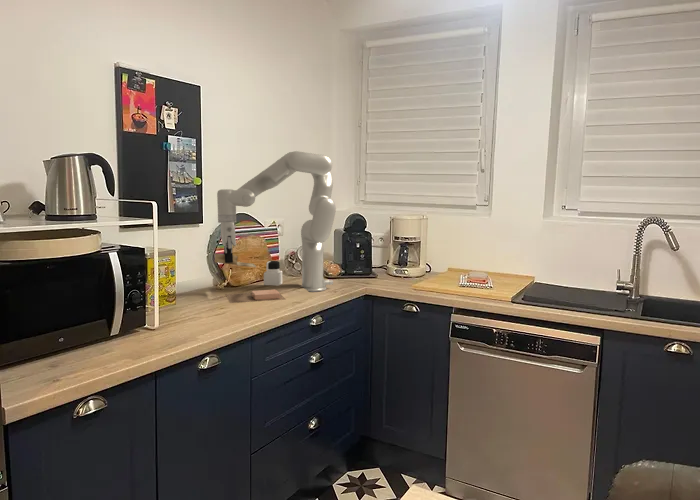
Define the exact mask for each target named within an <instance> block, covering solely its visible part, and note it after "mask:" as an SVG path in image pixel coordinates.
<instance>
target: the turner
mask: <svg viewBox="0 0 700 500" xmlns="http://www.w3.org/2000/svg"><path fill="white" fill-rule="evenodd" d="M213 261H214V263H216V264H217V263H218V264H226V265H235V266H237V267H246V268H257V265H256V264H255V263H253V262H252V263H251V262H244V261H243V262H241V261H238V255H233V262H232V263H225V255H224V253H223V254H222V253H215V254H214V260H213Z"/></svg>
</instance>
